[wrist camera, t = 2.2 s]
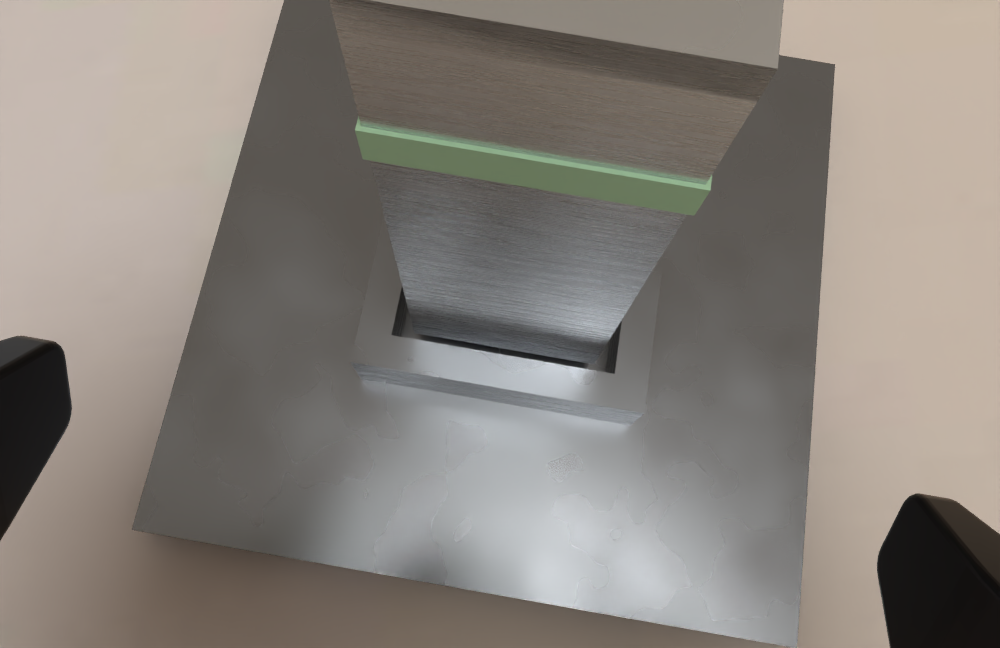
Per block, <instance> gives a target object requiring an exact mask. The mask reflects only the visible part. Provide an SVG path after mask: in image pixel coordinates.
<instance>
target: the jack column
mask: <svg viewBox="0 0 1000 648" xmlns="http://www.w3.org/2000/svg"><path fill="white" fill-rule="evenodd" d="M329 2H330V6H331V10H332V14H333V18H334V22H335V26H336V30H337V33H338V37H339V41H340V45H341V49H342V53H343V57H344V61H345V65H346V68H347V72H348V76H349V80H350V84H351V88H352V92H353V96H354V100H355V104H356V107H357V111H358V120H357V124H356V128H355V133H356V136H357V140H358V144H359V147H360V151H361V154H362V158H363V159H364V160H370V162H371V166H372V170H373V174H374V178H375V181H376V185H377V189H378V193H379V197H380V201H381V205H382V209H383V213H384V217H385V220H386V224H387V228H388V232H389V236H390V240H391V244H392V248H393V252H394V256H395V259H396V263H397V267H398V271H399V275H400V279H401V283H402V287H403V291H404V295H405V298H406V302H407V306H408V310H409V314H410V318H411V322H412V326H413V330H414V333H417V334H422V335H428V336H434V337H440V338H445V339H451V340H457V341H463V342H468V343H474V344H480V345H486V346H491V347H497V348H503V349H509V350H514V351H520V352H526V353H532V354H538V355H543V356H549V357H555V358H561V359H566V360H572V361H578V362H584V363H589V364H595V362H596V360H597V359H598V357H599V356H600V354H601V352H602V351H603V349H604V347H605V346H606V344H607V343H608V341H609V339H610V338H611V336H612V335H613V333H614V331H615V330H616V328H617V327H618V325H619V323H620V322H621V320H622V319H623V317H624V315H625V314H626V312H627V310H628V309H629V307H630V306H631V304H632V302H633V301H634V299H635V298H636V296H637V294H638V293H639V291H640V290H641V288H642V286H643V285H644V283H645V282H646V280H647V278H648V277H649V275H650V273H651V272H652V270H653V269H654V267H655V265H656V264H657V262H658V261H659V259H660V257H661V256H662V254H663V253H664V251H665V249H666V248H667V246H668V245H669V243H670V241H671V240H672V238H673V236H674V235H675V233H676V232H677V230H678V228H679V227H680V225H681V224H682V222H683V220H684V219H685V217H686V216H687V215H693V216H694V215H695V214H696V212H697V211H698V209H699V208H700V206H701V205H702V203H703V201H704V200H705V198H706V197H707V195H708V194H709V192H710V190H711V181H712V174H713V172H714V170H715V169H716V167H717V166H718V164H719V162H720V161H721V159H722V158H723V156H724V154H725V153H726V151H727V150H728V148H729V146H730V145H731V143H732V142H733V140H734V138H735V137H736V135H737V133H738V132H739V130H740V129H741V127H742V125H743V124H744V122H745V121H746V119H747V117H748V116H749V114H750V113H751V111H752V109H753V108H754V106H755V105H756V103H757V101H758V100H759V98H760V96H761V95H762V93H763V92H764V90H765V88H766V87H767V85H768V84H769V82H770V80H771V79H772V77H773V76H774V74H775V72H776V71H777V69H778V60H779V49H780V37H781V26H782V14H783V3H784V0H329Z"/></svg>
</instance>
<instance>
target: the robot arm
mask: <svg viewBox="0 0 1000 648" xmlns="http://www.w3.org/2000/svg"><path fill="white" fill-rule="evenodd" d="M71 410H72V405H71V397H70V389H69V382H68V375H67V367H66V360H65V355H64V351H63V349H62V348H61V346H60V345H59V344H57V343H56V342H54V341H49V340H43V339H38V338H32V337H27V336H15V337H12V338H8V339H5V340H2V341H0V540H1V539H2V537H3V535H4V534H5V532H6V531H7V529H8V528H9V526H10V524H11V522H12V521H13V519H14V517H15V516H16V514H17V512H18V511H19V509H20V507H21V505H22V504H23V502H24V500H25V499H26V497H27V495H28V494H29V492H30V490H31V488H32V487H33V485H34V483H35V482H36V480H37V478H38V476H39V475H40V473H41V471H42V470H43V468H44V466H45V465H46V463H47V461H48V459H49V458H50V456H51V454H52V453H53V451H54V449H55V448H56V446H57V444H58V442H59V441H60V439H61V437H62V436H63V434H64V432H65V430H66V428H67V426H68V424H69V421H70V417H71ZM877 573H878V579H879V585H880V591H881V597H882V603H883V609H884V615H885V620H886V626H887V632H888V638H889V644H890V648H1000V534H999V533H997V532H996V531H995V530H993V529H992V528H991V527H989V526H988V525H987V524H986V523H984V522H983V521H982V520H980V519H979V518H978V517H976V516H975V515H974V514H972V513H971V512H970V511H968V510H967V509H966V508H965V507H963V506H962V505H961V504H959V503H958V502H956V501H954V500H952V499H948V498H942V497H936V496H931V495H925V494H914V495H911V496H909V497H908V498H907V499H906V500H905V502H904V503H903V505H902V507H901V509H900V511H899V513H898V515H897V517H896V519H895V521H894V523H893V525H892V527H891V529H890V531H889V533H888V535H887V537H886V539H885V541H884V543H883V545H882V547H881V549H880V552H879V555H878V561H877Z"/></svg>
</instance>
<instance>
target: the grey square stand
mask: <svg viewBox="0 0 1000 648" xmlns="http://www.w3.org/2000/svg"><path fill="white" fill-rule="evenodd" d="M834 71H835V64H829V63H823V62H817V61H811V60H805V59H799V58H793V57H787V56H781V55H779V60H778V69H777V71H776V72H775V74H774V76H773V77H772V79H771V80H770V82H769V84H768V85H767V87H766V88H765V90H764V92H763V93H762V95H761V96H760V98H759V100H758V101H757V103H756V105H755V106H754V108H753V109H752V111H751V113H750V114H749V116H748V117H747V119H746V121H745V122H744V124H743V125H742V127H741V129H740V130H739V132H738V133H737V135H736V137H735V138H734V140H733V142H732V143H731V145H730V146H729V148H728V150H727V151H726V153H725V154H724V156H723V158H722V159H721V161H720V162H719V164H718V166H717V167H716V169H715V170H714V172H713V174H712V181H711V190H710V192H709V194H708V195H707V197H706V198H705V200H704V201H703V203H702V205H701V206H700V208H699V209H698V211H697V212H696V214H695V215H694V216H693V215H687V216H686V217H685V219H684V220H683V222H682V224H681V225H680V227H679V228H678V230H677V232H676V233H675V235H674V236H673V238H672V240H671V241H670V243H669V245H668V246H667V248H666V249H665V251H664V253H663V254H662V256H661V257H660V259H659V261H658V262H657V264H656V265H655V267H654V269H653V270H652V272H651V273H650V275H649V277H648V278H647V280H646V282H645V283H644V285H643V286H642V288H641V290H640V291H639V293H638V294H637V296H636V298H635V299H634V301H633V302H632V304H631V306H630V307H629V309H628V310H627V312H626V314H625V315H624V317H623V319H622V320H621V322H620V323H619V325H618V327H617V328H616V330H615V331H614V333H613V335H612V336H611V338H610V339H609V341H608V343H607V344H606V346H605V347H604V349H603V351H602V352H601V354H600V356H599V357H598V359H597V360H596V362H595V364H589V363H584V362H578V361H572V360H566V359H561V358H555V357H549V356H543V355H538V354H532V353H526V352H520V351H514V350H509V349H503V348H497V347H491V346H486V345H480V344H474V343H468V342H463V341H457V340H451V339H445V338H440V337H434V336H428V335H422V334H417V333H414V330H413V326H412V322H411V318H410V314H409V310H408V306H407V302H406V298H405V295H404V291H403V287H402V283H401V279H400V275H399V271H398V267H397V263H396V259H395V256H394V252H393V248H392V244H391V240H390V236H389V232H388V228H387V224H386V220H385V217H384V213H383V209H382V205H381V201H380V197H379V193H378V189H377V185H376V181H375V178H374V174H373V170H372V166H371V162H370V160H364V159H363V158H362V154H361V151H360V147H359V144H358V140H357V136H356V133H355V128H356V124H357V120H358V111H357V107H356V104H355V100H354V96H353V92H352V88H351V84H350V80H349V76H348V72H347V68H346V65H345V61H344V57H343V53H342V49H341V45H340V41H339V37H338V33H337V30H336V26H335V22H334V18H333V14H332V10H331V6H330V2H329V0H284V3H283V6H282V10H281V13H280V17H279V20H278V24H277V27H276V31H275V34H274V38H273V41H272V45H271V48H270V52H269V55H268V59H267V62H266V65H265V69H264V72H263V76H262V79H261V83H260V86H259V90H258V93H257V97H256V100H255V104H254V107H253V111H252V114H251V118H250V121H249V125H248V128H247V132H246V135H245V138H244V142H243V145H242V149H241V152H240V156H239V159H238V163H237V166H236V170H235V173H234V177H233V180H232V184H231V187H230V191H229V194H228V198H227V201H226V205H225V208H224V211H223V215H222V218H221V222H220V225H219V229H218V232H217V236H216V239H215V243H214V246H213V250H212V253H211V257H210V260H209V264H208V267H207V271H206V274H205V277H204V281H203V284H202V288H201V291H200V295H199V298H198V302H197V305H196V309H195V312H194V316H193V319H192V323H191V326H190V330H189V333H188V337H187V340H186V344H185V347H184V350H183V354H182V357H181V361H180V364H179V368H178V371H177V375H176V378H175V382H174V385H173V389H172V392H171V396H170V399H169V403H168V406H167V410H166V413H165V417H164V420H163V423H162V427H161V430H160V434H159V437H158V441H157V444H156V448H155V451H154V455H153V458H152V462H151V465H150V469H149V472H148V476H147V479H146V483H145V486H144V489H143V493H142V496H141V500H140V503H139V507H138V510H137V514H136V517H135V521H134V524H133V528H132V530H136V531H142V532H147V533H153V534H158V535H164V536H170V537H175V538H181V539H186V540H192V541H198V542H203V543H209V544H214V545H220V546H226V547H231V548H237V549H242V550H248V551H254V552H259V553H265V554H270V555H276V556H282V557H287V558H293V559H298V560H304V561H310V562H315V563H321V564H326V565H332V566H338V567H343V568H349V569H354V570H360V571H366V572H371V573H377V574H382V575H388V576H394V577H399V578H405V579H410V580H416V581H422V582H427V583H433V584H439V585H444V586H450V587H455V588H461V589H467V590H472V591H478V592H483V593H489V594H495V595H500V596H506V597H511V598H517V599H523V600H528V601H534V602H539V603H545V604H551V605H556V606H562V607H567V608H573V609H579V610H584V611H590V612H595V613H601V614H607V615H612V616H618V617H623V618H629V619H635V620H640V621H646V622H651V623H657V624H663V625H668V626H674V627H679V628H685V629H691V630H696V631H702V632H707V633H713V634H719V635H724V636H730V637H735V638H741V639H747V640H752V641H758V642H763V643H769V644H775V645H780V646H786V647H791V648H797V642H798V626H799V611H800V595H801V580H802V565H803V549H804V534H805V518H806V503H807V487H808V472H809V457H810V441H811V426H812V410H813V395H814V379H815V364H816V348H817V333H818V318H819V302H820V287H821V271H822V256H823V240H824V225H825V210H826V194H827V179H828V163H829V148H830V132H831V117H832V102H833V86H834Z"/></svg>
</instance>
